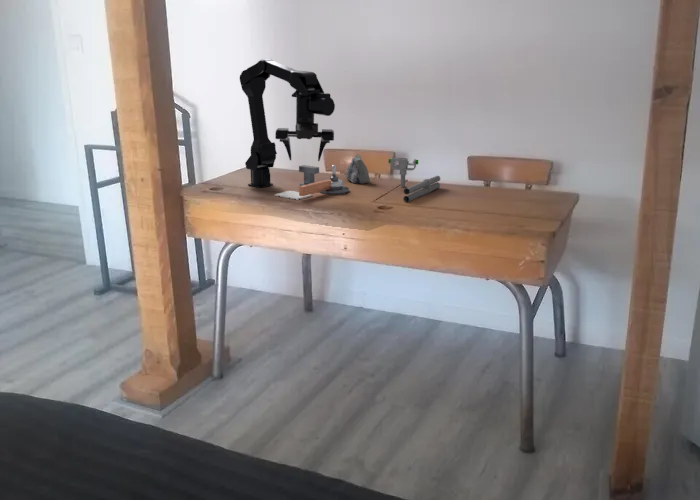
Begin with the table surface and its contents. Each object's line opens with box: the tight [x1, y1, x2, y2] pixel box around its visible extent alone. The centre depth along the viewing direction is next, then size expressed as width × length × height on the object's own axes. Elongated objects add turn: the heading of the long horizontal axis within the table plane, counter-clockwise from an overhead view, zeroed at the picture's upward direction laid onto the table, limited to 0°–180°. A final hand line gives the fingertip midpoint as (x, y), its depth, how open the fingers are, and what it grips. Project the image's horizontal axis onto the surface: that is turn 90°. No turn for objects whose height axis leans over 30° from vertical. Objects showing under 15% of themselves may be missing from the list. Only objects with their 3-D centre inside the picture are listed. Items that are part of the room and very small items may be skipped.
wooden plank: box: [298, 164, 344, 196], centre depth 232 cm, size 20×6×8 cm, turn 143°
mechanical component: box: [388, 157, 419, 188], centre depth 245 cm, size 3×10×10 cm, turn 78°
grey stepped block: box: [298, 164, 320, 186], centre depth 245 cm, size 7×4×7 cm, turn 53°
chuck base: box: [319, 185, 350, 196], centre depth 238 cm, size 10×10×1 cm
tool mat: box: [274, 190, 313, 201], centre depth 231 cm, size 10×7×1 cm
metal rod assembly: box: [403, 175, 441, 203], centre depth 234 cm, size 26×3×5 cm, turn 150°
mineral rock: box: [345, 153, 371, 185], centre depth 255 cm, size 13×11×10 cm
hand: (304, 160), depth 229 cm, fingers open, 9 cm apart
